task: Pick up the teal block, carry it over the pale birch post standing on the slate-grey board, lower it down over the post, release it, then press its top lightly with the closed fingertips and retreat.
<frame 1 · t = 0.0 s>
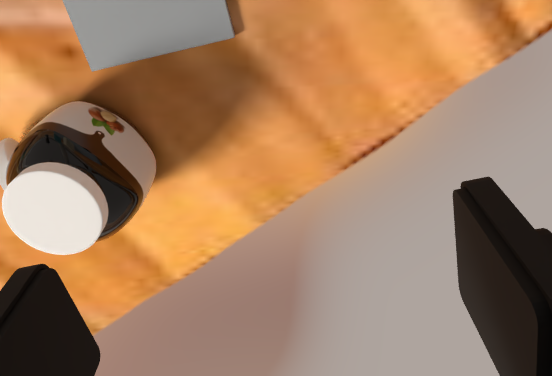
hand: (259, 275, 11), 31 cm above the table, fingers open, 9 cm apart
spread jar: (85, 152, 44), on the table
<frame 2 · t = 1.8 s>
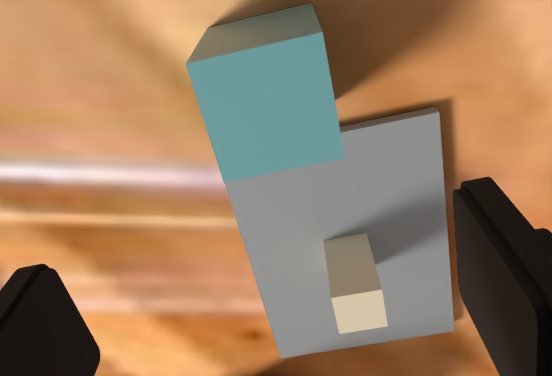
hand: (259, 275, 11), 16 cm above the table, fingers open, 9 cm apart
teal block: (271, 67, 25), on the table
stand: (346, 246, 30), on the table
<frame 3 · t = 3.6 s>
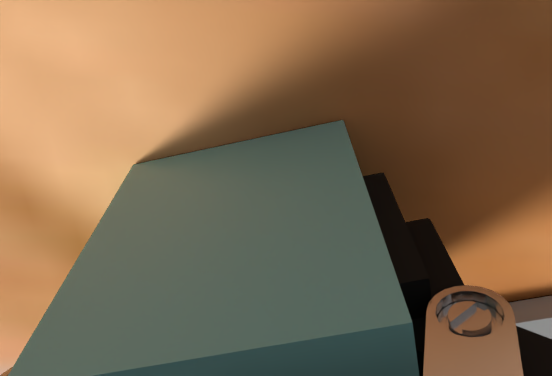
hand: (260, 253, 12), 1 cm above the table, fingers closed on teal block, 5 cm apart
teal block: (261, 231, 13), on the table, touching gripper
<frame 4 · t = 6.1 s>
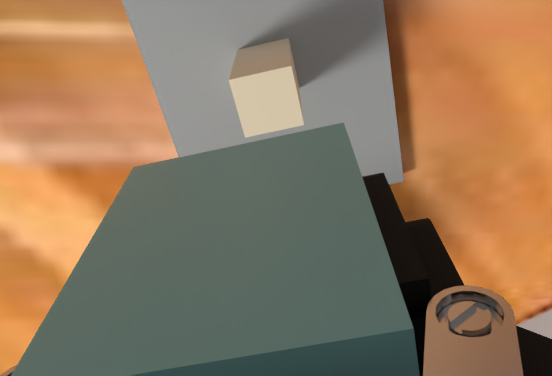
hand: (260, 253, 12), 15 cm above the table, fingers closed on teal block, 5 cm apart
teal block: (262, 233, 13), point 15 cm above the table, touching gripper
stand: (269, 65, 25), on the table
when the fingers open (3 cm above the table, at t = 8.4 s): teal block stays where it is, resting on stand.
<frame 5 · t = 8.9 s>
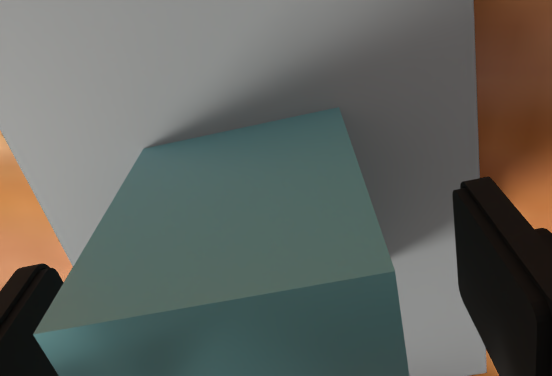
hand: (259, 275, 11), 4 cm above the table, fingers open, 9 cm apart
teal block: (262, 212, 14), point 1 cm above the table, touching stand
stand: (263, 198, 14), on the table
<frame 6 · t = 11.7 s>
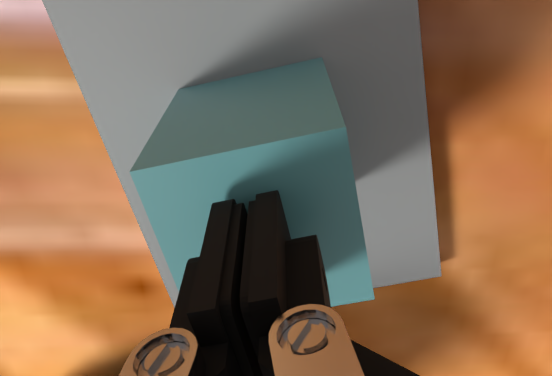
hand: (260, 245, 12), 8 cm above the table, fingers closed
teal block: (266, 140, 18), point 1 cm above the table, touching stand
stand: (266, 132, 19), on the table
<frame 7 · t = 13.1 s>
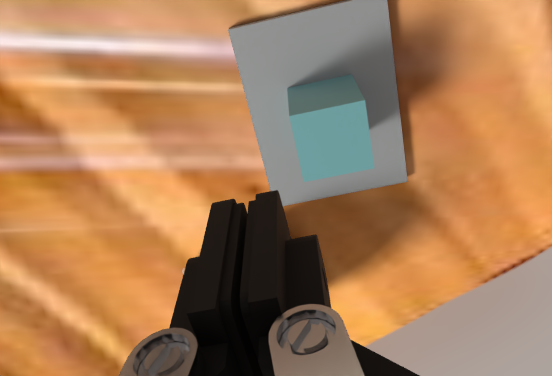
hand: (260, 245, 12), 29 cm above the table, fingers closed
teal block: (324, 111, 40), point 1 cm above the table, touching stand
stand: (323, 108, 41), on the table
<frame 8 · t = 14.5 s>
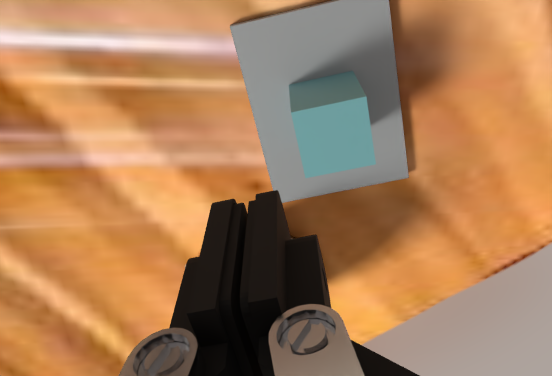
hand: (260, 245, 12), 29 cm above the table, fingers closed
teal block: (326, 108, 40), point 1 cm above the table, touching stand
stand: (325, 104, 41), on the table
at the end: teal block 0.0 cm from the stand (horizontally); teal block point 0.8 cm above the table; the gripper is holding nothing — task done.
